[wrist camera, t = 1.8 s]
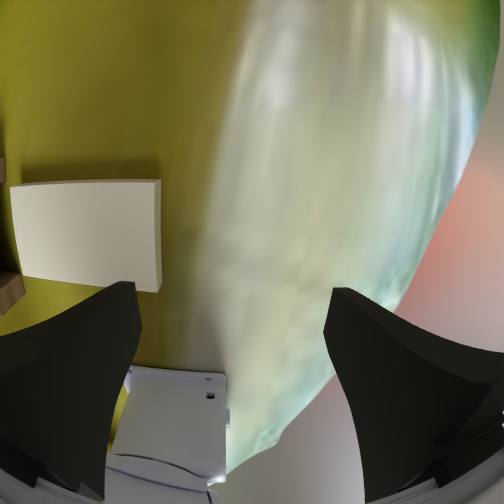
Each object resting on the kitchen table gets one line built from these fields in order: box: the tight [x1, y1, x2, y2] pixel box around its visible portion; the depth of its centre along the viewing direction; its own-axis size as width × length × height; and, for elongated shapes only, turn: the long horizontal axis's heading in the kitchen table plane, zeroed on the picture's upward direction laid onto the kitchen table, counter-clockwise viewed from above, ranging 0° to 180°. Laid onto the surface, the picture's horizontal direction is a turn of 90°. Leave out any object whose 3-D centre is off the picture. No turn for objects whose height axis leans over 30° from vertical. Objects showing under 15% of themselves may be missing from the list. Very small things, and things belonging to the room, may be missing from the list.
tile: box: [10, 179, 162, 293], centre depth 16 cm, size 12×7×2 cm, turn 85°
